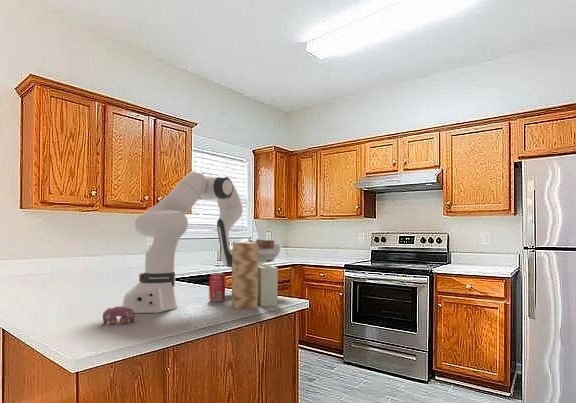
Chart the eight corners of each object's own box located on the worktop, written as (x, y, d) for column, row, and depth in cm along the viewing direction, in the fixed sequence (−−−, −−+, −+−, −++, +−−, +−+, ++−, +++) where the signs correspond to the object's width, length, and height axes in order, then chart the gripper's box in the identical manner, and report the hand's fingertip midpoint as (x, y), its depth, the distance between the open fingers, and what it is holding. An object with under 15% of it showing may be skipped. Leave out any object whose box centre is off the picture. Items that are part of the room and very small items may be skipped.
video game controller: (101, 329, 129) (101, 312, 126) (103, 320, 133) (103, 303, 130) (134, 327, 132) (134, 310, 129) (135, 319, 136) (135, 302, 133)
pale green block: (260, 306, 163) (261, 268, 164) (254, 299, 178) (254, 264, 179) (277, 305, 164) (277, 267, 166) (269, 299, 180) (269, 264, 181)
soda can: (217, 299, 180) (218, 272, 181) (228, 300, 175) (228, 273, 176) (205, 301, 174) (206, 273, 175) (215, 302, 170) (216, 274, 171)
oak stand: (235, 308, 157) (236, 243, 159) (231, 303, 169) (232, 242, 171) (257, 307, 159) (258, 243, 161) (252, 302, 171) (253, 242, 173)
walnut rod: (266, 248, 165) (266, 240, 165) (256, 246, 186) (256, 239, 186) (274, 248, 165) (274, 240, 166) (263, 246, 187) (263, 239, 187)
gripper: (235, 249, 193) (238, 236, 182) (275, 249, 199) (281, 236, 188) (235, 261, 190) (239, 248, 179) (277, 260, 195) (283, 247, 184)
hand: (261, 242), depth 183 cm, fingers closed on walnut rod, 3 cm apart
